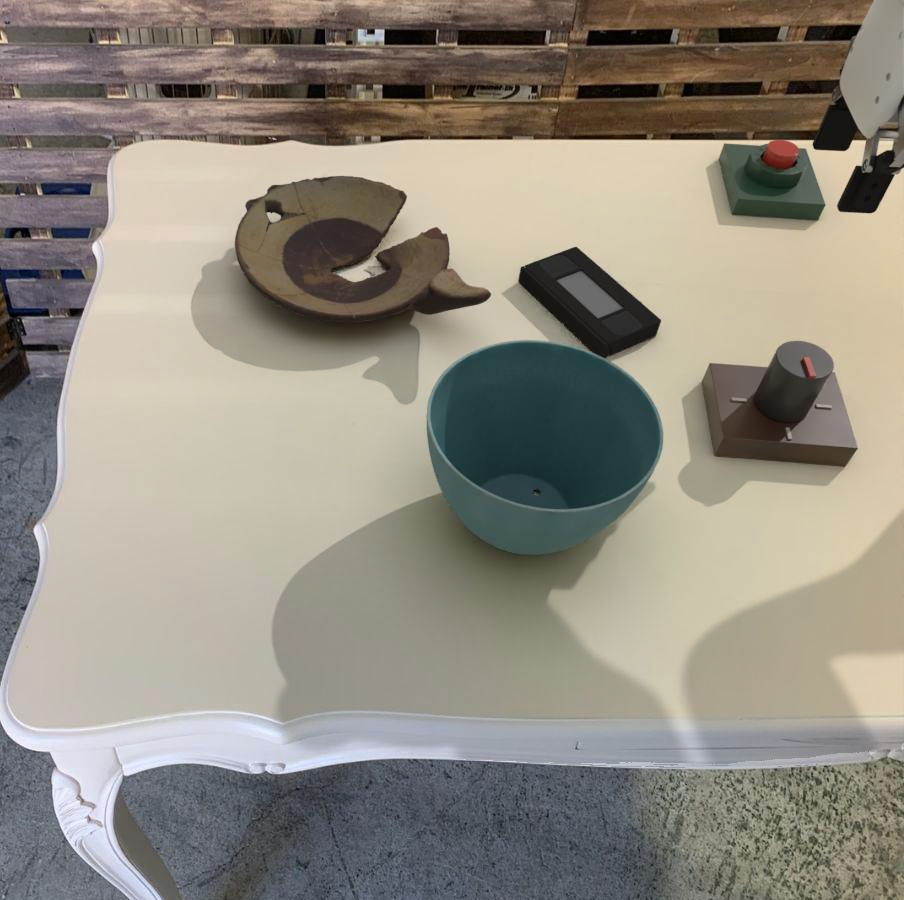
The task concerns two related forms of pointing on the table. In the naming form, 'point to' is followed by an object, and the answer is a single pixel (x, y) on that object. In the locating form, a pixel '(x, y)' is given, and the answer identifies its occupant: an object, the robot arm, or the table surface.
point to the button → (780, 154)
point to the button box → (769, 185)
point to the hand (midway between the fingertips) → (841, 178)
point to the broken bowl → (344, 253)
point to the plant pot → (540, 443)
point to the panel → (774, 421)
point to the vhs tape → (589, 302)
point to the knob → (793, 381)
